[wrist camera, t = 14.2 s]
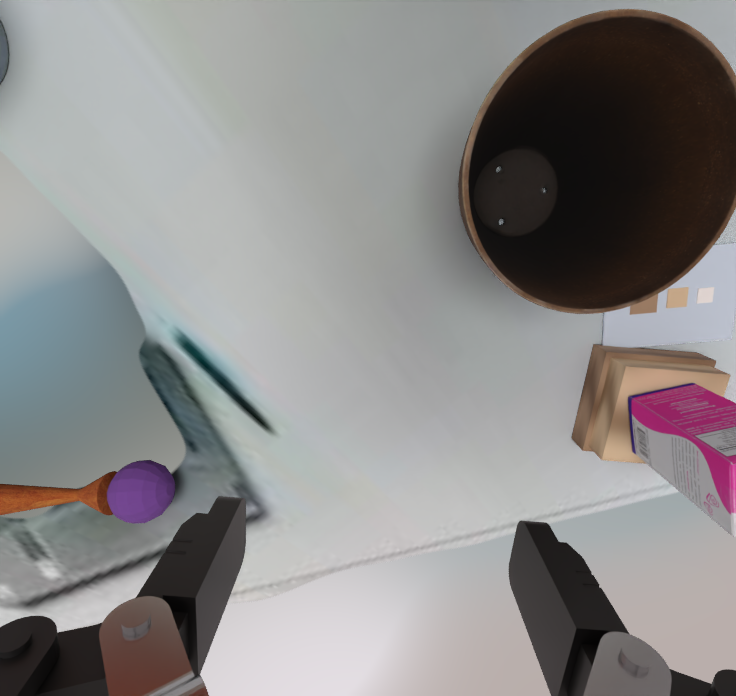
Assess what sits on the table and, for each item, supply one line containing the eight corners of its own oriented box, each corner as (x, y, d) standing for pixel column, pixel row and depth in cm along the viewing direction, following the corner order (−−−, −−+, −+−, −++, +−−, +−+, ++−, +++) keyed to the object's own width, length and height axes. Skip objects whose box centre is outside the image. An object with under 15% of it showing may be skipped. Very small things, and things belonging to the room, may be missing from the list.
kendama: (-44, 484, 43) (147, 471, 41) (12, 462, 49) (181, 450, 47) (-32, 542, 44) (156, 533, 41) (22, 513, 50) (189, 504, 47)
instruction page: (607, 254, 40) (608, 254, 40) (743, 241, 39) (746, 242, 39) (601, 349, 42) (603, 350, 42) (730, 339, 42) (732, 339, 42)
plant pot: (428, 99, 37) (467, 13, 21) (610, 92, 36) (783, 0, 21) (426, 280, 41) (458, 317, 25) (590, 275, 41) (721, 310, 25)
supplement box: (698, 439, 39) (823, 524, 28) (630, 452, 40) (728, 541, 29) (696, 379, 38) (828, 445, 27) (626, 394, 38) (727, 465, 27)
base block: (593, 344, 42) (621, 360, 38) (696, 352, 42) (738, 370, 38) (571, 438, 45) (595, 464, 40) (668, 446, 45) (703, 473, 40)
